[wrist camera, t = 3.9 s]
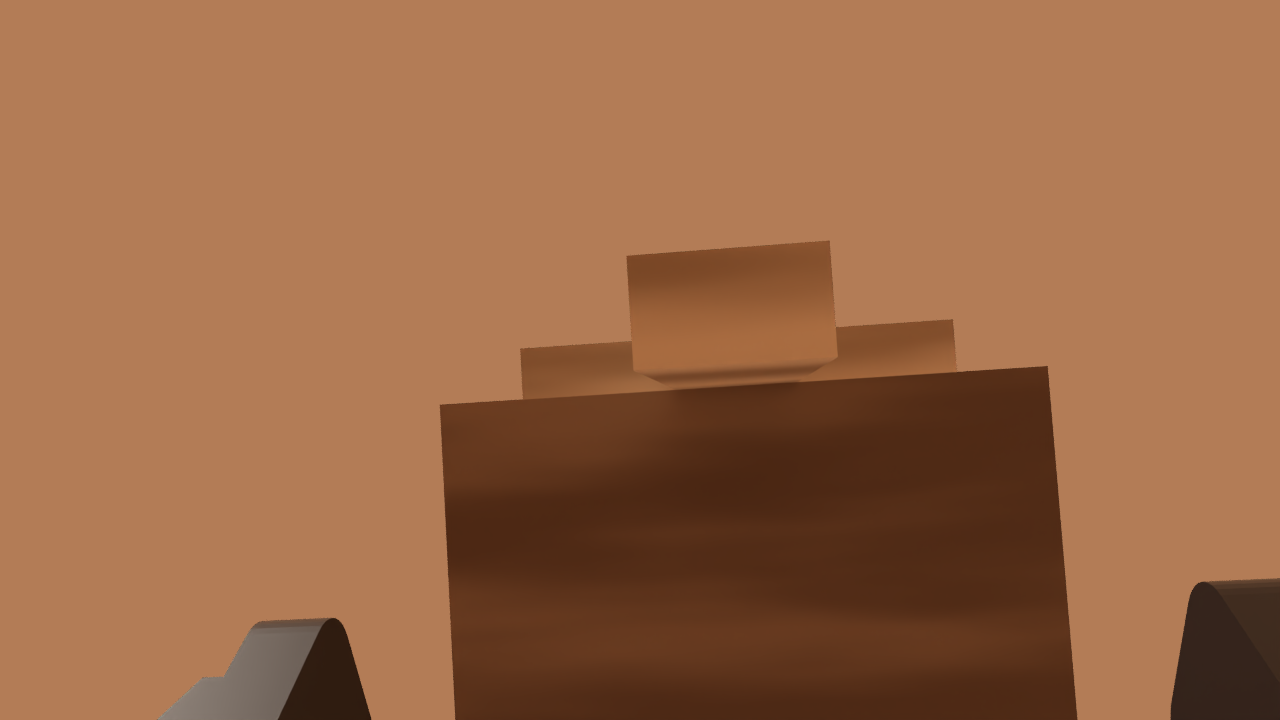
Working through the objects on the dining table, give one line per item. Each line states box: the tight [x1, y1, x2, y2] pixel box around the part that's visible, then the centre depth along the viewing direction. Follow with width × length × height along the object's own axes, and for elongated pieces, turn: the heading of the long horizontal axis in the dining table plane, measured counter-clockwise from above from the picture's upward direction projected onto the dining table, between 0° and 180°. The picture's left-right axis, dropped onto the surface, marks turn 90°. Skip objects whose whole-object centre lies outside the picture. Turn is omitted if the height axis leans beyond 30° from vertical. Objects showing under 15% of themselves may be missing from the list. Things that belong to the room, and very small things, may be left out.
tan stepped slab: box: [520, 241, 957, 400], centre depth 26 cm, size 23×10×2 cm, turn 175°
